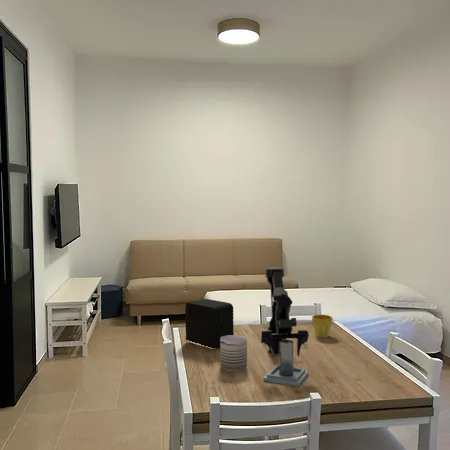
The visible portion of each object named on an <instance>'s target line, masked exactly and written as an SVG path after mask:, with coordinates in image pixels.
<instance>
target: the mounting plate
mask: <svg viewBox="0 0 450 450" xmlns="http://www.w3.org/2000/svg"><path fill="white" fill-rule="evenodd" d="M308 375H309V371H308V370H306V368H299V367H295V366H293V376H290V377H285V376H280V375H279V364H276V365H275V366H274V367H272V368H271V370H270V371H268V373H267V374H265V376H263V378H262V380H263V382H268V383H275V384H281V385H286V386H294V387H299V386H300V385H301V384H302V383H303V381H304V380H305V379H306V377H307V376H308Z"/></svg>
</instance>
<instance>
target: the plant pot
mask: <svg viewBox="0 0 450 450" xmlns="http://www.w3.org/2000/svg"><path fill="white" fill-rule="evenodd" d="M333 320H334V319H333V316H331V315H328V314H314V315H312V317H311V323H312V325H313V327H314V328H313V329H314V334H315V337H317V338H327V337H329V336H330V331H331V327H332V325H333Z"/></svg>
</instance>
